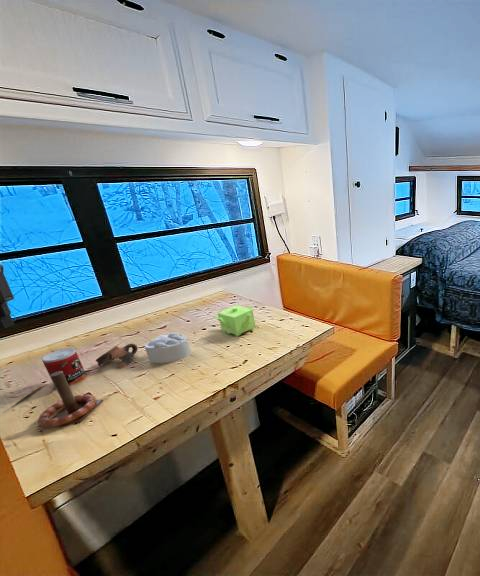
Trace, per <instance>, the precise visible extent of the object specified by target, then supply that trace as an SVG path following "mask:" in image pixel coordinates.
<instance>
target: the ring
mask: <svg viewBox="0 0 480 576" xmlns="http://www.w3.org/2000/svg"><path fill="white" fill-rule="evenodd" d="M74 397H75V399H76V402H86V404H85V405H84V406H83V407H82V408H81V409H79V410H77V411H75V412H74V413H72V414H69V415H66V416H64V417H61V418H55V419H51V416H52V415H54V414H55V413H56V412H59V410H62V409H63V408H64V407H65V406H64V404H63V402H62V400H59V401H58V402H56V403H53V404H52V405H50V406H49V407H47V408H46V409H45V410H44V411H43V412H42V413H40V414H39V416H38V420H37V424H38V425H39V426H41V427H43V426H44V427H43V428H51V427H52V428H53V427H59V426H64V425H63V424H66V423H69V422H71V421H74V420H76V419H78V418H79V417H81V416H83V415H85V414H86V413H88V412H89V411H90V410H91V409H92V408H93V407H94V406H95V404H96V400H97V397H96V396H94V395H91V394H88V393H87V394H78V395H74Z"/></svg>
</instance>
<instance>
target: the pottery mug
mask: <svg viewBox="0 0 480 576" xmlns="http://www.w3.org/2000/svg"><path fill="white" fill-rule="evenodd" d="M130 348H132V350H131V352H130V351H129V350H130ZM137 352H138V345H136V344H135V343H128V344H126V345H124V346H122V347H119V346H118V345H114V346H113V347H112V348H110V349H109V350H108V351H107V352H104V353H103V354H102V355H101V356H99V357H97V358H96V359H95V362H97V366H98V367H99V368H102V365H103V364H105V363H106V364H107V363H109V362H111V361H114V360H116V359H117V360H118V359H119V360H121V361H122V362H121V363H120V364H118V365H117V366H118V368H119V369H122V368H125V367H127V366H129V365H130V364H132V363H133V362H134V357H135V355H136V354H137Z"/></svg>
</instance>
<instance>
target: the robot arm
mask: <svg viewBox="0 0 480 576" xmlns="http://www.w3.org/2000/svg"><path fill="white" fill-rule="evenodd" d="M9 285H10V284H9V283H8V281H7V278H6V276H5V274H4V265H2V264H0V329H1V330H6V329H7V328H10V327H12V326H14V325H15V322H14V320H13V318H12V316H11V314H12V310H11V309H10V306H9V305H8V302H10V301H13V300H15V296H14V294H13V292H12V289H11V287H10V286H9Z"/></svg>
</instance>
